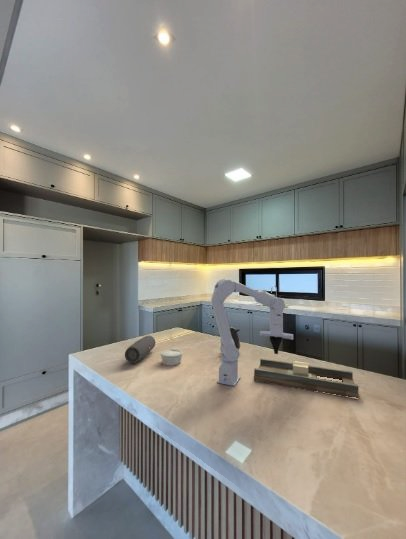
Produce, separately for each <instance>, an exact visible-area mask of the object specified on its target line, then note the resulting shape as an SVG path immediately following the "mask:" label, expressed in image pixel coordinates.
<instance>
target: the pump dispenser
mask: <svg viewBox="0 0 406 539" xmlns="http://www.w3.org/2000/svg"><path fill="white" fill-rule="evenodd" d="M229 328H230V332H231V336H232V339H233V341H234V343H235V346H236V348H237V349H238V351H239V350H240V348H241V340H240V336H239V333H238V332H240V329H236V328H235V327H234V326H229ZM239 352H240V351H239Z"/></svg>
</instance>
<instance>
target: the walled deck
mask: <svg viewBox="0 0 406 539" xmlns="http://www.w3.org/2000/svg"><path fill="white" fill-rule="evenodd" d="M259 361H260V362H259V365H258V368H257V367H255V368H254V369H253V370H254V371H253V374H254V375H253V382H254V381H255V382H261V383H265V384H270V383H271V384H272V385H276V384H277V385H278V386H281V385H283V386H282V387H287V386H288V388H292V387H294V388H293V389H298V388H300V389H299V390H303V389H306V390H305V391H308V390H311V391H310V392H314V391H318V392H317V393H319V392H325V393H330V394H336V395H341V396H348V397H356V398H359V399H360V395H359V385H358V384H356V383H355V381H354V375H353V374H354V373H353V372H354V371H352V370H351V371H350V370H345V369H337V368H331V367H324V366H315V365H309V364H308V377H307V376H301V375H295V374H293V362H290V361H289V362H288V361H282V360H276V359H275V360H274V359H269V358H267V359H266V358H260V359H259ZM317 376H320V377H327V378H333V379H339V380H342V382H338V381H332V380H326V379H319V378H317ZM277 385H276V386H277ZM325 393H324V394H325ZM330 394H329V395H330ZM336 395H335V396H336ZM341 396H340V397H341Z"/></svg>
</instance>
